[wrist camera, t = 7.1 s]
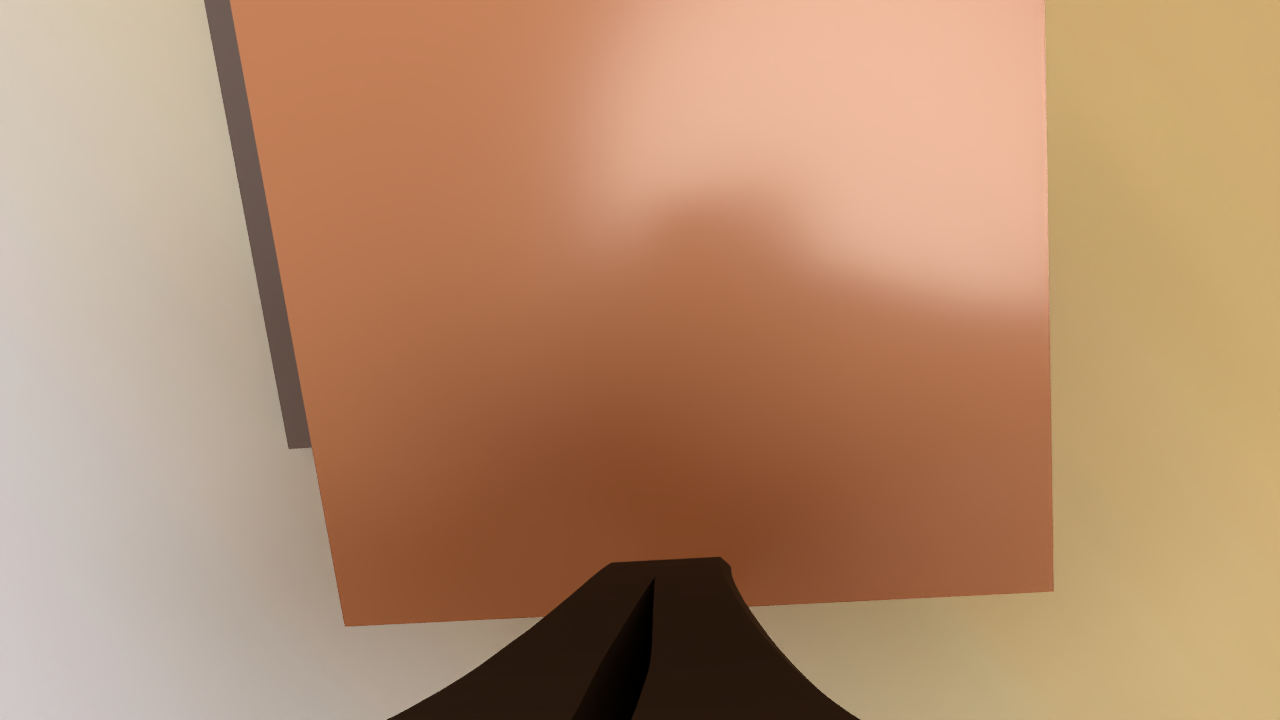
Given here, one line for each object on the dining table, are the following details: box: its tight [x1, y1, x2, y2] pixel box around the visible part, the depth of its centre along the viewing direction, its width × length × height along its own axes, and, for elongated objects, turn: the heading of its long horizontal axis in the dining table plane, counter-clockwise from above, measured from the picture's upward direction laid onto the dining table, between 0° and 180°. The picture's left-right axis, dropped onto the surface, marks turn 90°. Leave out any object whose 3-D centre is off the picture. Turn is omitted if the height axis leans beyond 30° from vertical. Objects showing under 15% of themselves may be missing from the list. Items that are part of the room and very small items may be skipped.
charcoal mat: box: [204, 0, 312, 449], centre depth 16 cm, size 10×12×1 cm
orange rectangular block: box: [230, 0, 1054, 626], centre depth 14 cm, size 4×9×8 cm
